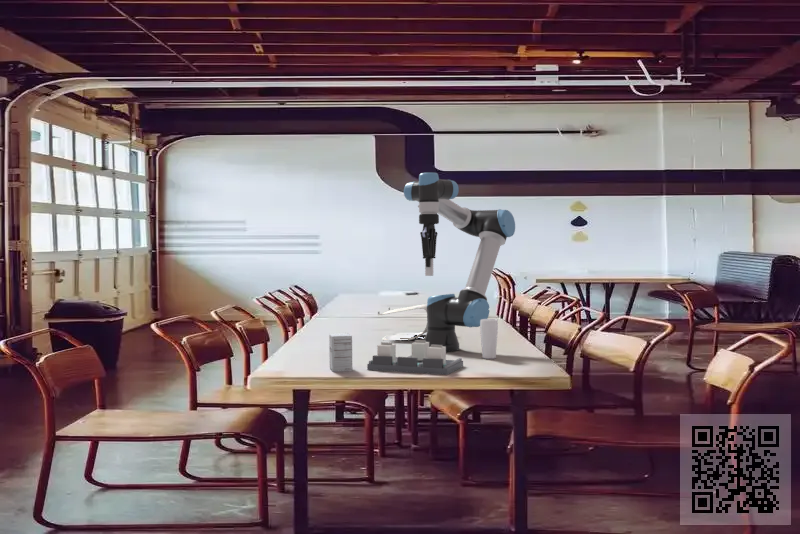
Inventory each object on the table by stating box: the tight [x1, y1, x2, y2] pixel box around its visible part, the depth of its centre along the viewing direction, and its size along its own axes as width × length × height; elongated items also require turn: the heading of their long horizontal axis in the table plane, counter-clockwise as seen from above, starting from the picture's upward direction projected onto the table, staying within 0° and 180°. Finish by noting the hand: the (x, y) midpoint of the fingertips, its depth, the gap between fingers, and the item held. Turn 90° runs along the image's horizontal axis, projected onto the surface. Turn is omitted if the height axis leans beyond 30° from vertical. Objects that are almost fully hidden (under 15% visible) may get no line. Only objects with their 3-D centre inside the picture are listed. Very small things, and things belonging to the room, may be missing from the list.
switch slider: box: [427, 345, 447, 365], centre depth 262 cm, size 5×5×7 cm
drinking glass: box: [479, 318, 499, 360], centre depth 290 cm, size 7×7×15 cm
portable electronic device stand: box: [377, 303, 427, 341], centre depth 354 cm, size 26×24×16 cm
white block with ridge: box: [411, 339, 429, 360], centre depth 274 cm, size 5×5×7 cm
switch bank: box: [366, 355, 464, 376], centre depth 270 cm, size 18×30×5 cm, turn 68°
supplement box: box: [328, 332, 353, 373], centre depth 268 cm, size 7×7×13 cm
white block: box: [376, 341, 397, 362], centre depth 269 cm, size 5×5×7 cm
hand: (429, 275), depth 286 cm, fingers closed
